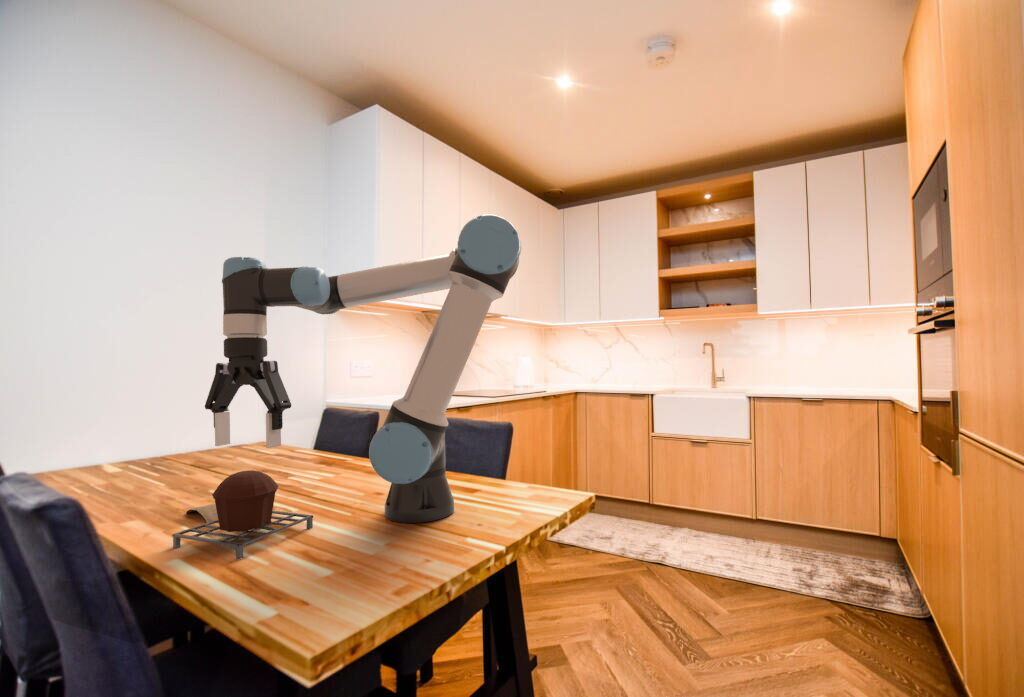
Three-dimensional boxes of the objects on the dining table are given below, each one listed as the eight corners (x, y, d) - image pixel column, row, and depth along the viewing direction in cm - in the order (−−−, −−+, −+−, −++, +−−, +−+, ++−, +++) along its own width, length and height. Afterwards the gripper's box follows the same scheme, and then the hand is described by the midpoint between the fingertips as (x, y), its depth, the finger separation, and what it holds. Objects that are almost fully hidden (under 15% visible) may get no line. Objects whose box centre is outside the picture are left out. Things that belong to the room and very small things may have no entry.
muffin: (206, 524, 94) (206, 472, 95) (266, 511, 102) (266, 463, 102) (222, 539, 86) (222, 482, 86) (287, 524, 94) (286, 472, 94)
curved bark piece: (258, 515, 110) (258, 503, 110) (209, 527, 102) (209, 514, 102) (229, 505, 119) (229, 494, 119) (182, 516, 111) (182, 504, 111)
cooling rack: (313, 527, 99) (313, 515, 99) (239, 559, 83) (239, 545, 83) (252, 519, 105) (252, 508, 105) (172, 548, 89) (172, 534, 89)
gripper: (309, 334, 94) (311, 444, 93) (218, 341, 103) (220, 441, 102) (278, 333, 87) (280, 451, 86) (183, 340, 96) (184, 447, 95)
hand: (247, 446), depth 94 cm, fingers open, 13 cm apart
